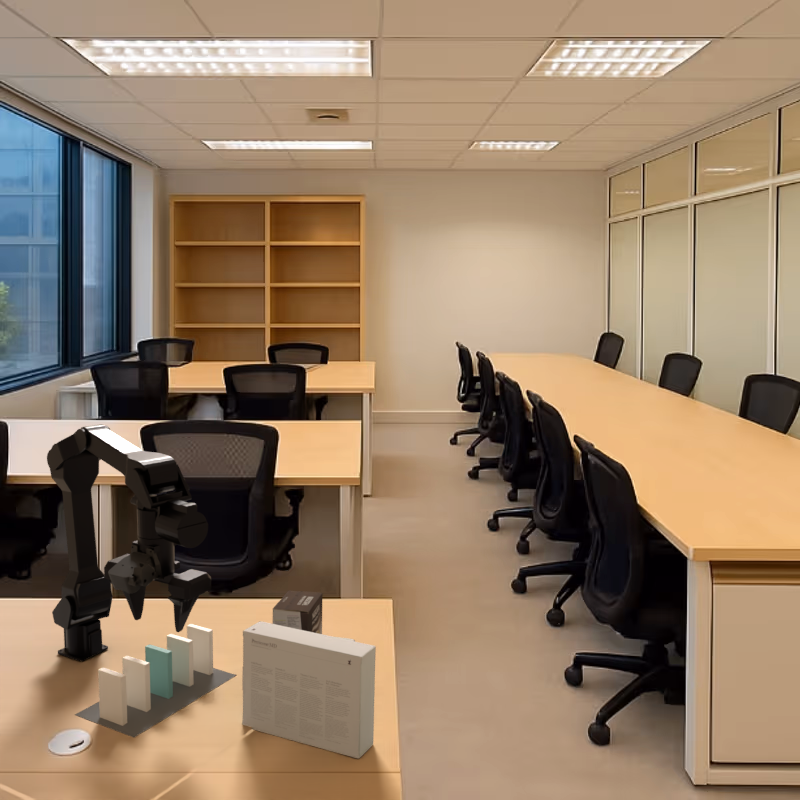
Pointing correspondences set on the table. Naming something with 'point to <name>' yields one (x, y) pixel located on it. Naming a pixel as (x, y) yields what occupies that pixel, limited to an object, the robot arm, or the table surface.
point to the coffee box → (300, 611)
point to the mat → (160, 704)
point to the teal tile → (160, 670)
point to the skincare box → (309, 688)
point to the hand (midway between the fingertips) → (158, 625)
